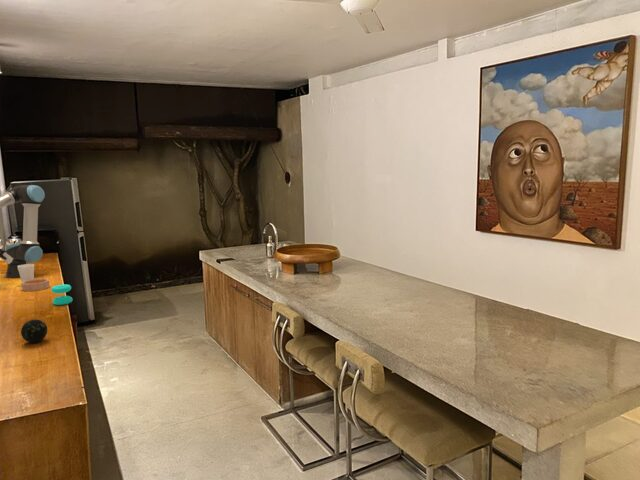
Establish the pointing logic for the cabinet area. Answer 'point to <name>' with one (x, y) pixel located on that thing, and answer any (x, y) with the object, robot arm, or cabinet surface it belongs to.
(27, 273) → the foam cup
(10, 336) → the cabinet surface
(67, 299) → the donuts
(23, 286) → the bowl
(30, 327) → the decorative stone
